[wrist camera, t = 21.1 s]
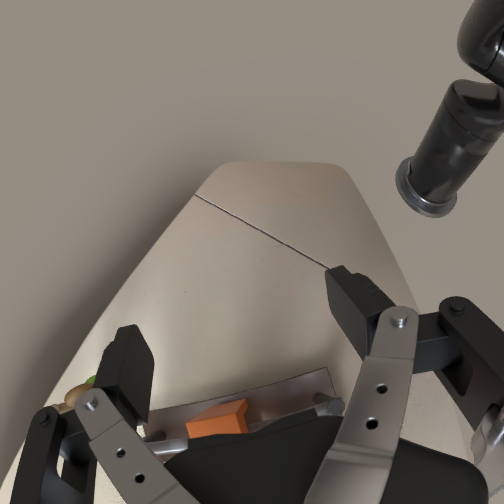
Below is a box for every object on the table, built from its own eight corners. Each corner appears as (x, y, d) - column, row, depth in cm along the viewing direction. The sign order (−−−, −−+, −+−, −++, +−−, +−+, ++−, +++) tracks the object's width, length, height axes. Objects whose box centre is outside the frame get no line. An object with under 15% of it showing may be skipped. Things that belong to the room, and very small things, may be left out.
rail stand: (325, 366, 36) (345, 364, 26) (340, 417, 33) (366, 432, 23) (142, 412, 35) (102, 421, 25) (157, 460, 32) (121, 484, 22)
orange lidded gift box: (245, 398, 31) (235, 412, 21) (259, 444, 29) (256, 476, 19) (210, 406, 31) (185, 422, 21) (224, 451, 29) (205, 485, 19)
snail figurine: (84, 392, 36) (30, 392, 24) (114, 367, 37) (62, 360, 26) (106, 424, 34) (54, 435, 23) (137, 399, 35) (90, 405, 24)
